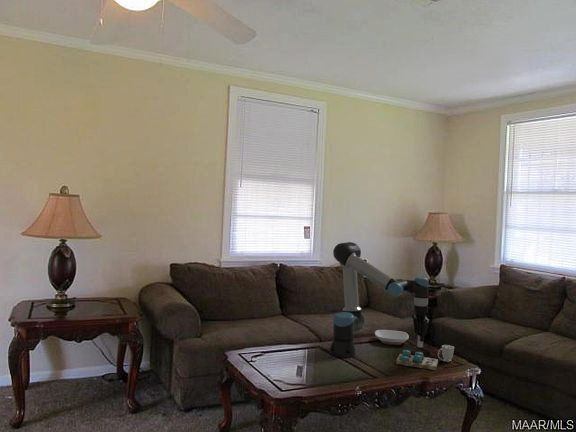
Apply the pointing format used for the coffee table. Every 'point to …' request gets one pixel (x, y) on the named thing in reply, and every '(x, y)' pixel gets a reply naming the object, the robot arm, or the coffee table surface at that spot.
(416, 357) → the button
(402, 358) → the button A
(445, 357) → the cup
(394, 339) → the bowl
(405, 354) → the button
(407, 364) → the board
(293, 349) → the coffee table surface
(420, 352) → the button
